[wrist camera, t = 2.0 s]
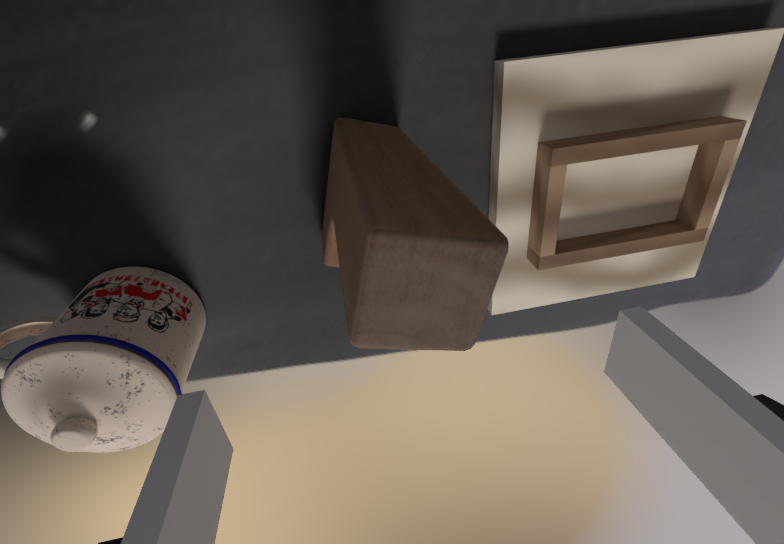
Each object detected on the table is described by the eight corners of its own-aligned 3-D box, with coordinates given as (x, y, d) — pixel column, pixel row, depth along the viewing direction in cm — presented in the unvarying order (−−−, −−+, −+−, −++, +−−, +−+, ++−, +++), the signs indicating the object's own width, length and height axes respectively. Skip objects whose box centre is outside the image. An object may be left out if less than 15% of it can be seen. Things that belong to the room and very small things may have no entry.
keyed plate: (494, 60, 26) (518, 63, 23) (763, 28, 28) (817, 27, 25) (485, 305, 36) (500, 329, 33) (681, 269, 38) (712, 288, 35)
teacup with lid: (215, 273, 30) (169, 387, 20) (205, 362, 34) (162, 494, 24) (23, 242, 26) (-147, 363, 17) (37, 346, 30) (-93, 493, 21)
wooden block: (378, 244, 31) (443, 440, 16) (321, 238, 30) (332, 444, 15) (400, 126, 27) (517, 240, 12) (334, 115, 26) (369, 225, 11)
